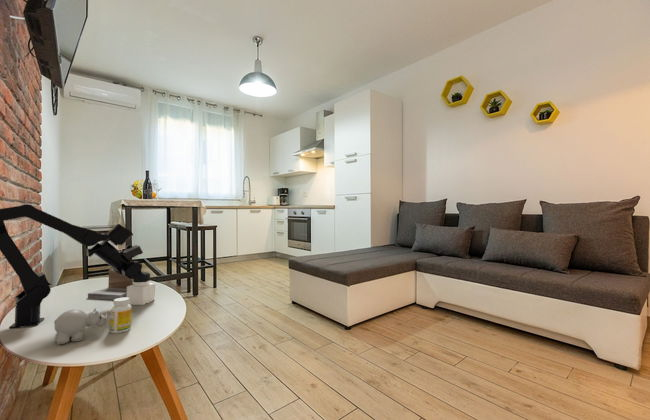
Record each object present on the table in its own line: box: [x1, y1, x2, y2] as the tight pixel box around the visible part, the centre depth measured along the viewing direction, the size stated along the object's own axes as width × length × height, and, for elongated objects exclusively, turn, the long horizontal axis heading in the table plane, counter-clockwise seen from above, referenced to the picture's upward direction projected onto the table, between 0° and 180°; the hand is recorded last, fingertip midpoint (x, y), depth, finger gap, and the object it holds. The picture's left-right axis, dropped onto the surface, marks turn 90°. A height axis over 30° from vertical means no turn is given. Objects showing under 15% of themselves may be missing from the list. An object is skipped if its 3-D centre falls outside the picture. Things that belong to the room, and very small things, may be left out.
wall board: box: [87, 268, 133, 301], centre depth 127 cm, size 12×15×10 cm
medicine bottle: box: [127, 271, 156, 306], centre depth 119 cm, size 7×7×12 cm
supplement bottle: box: [109, 297, 132, 334], centre depth 91 cm, size 5×5×10 cm
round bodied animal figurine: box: [53, 308, 109, 345], centre depth 85 cm, size 7×12×8 cm, turn 136°
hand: (142, 279), depth 119 cm, fingers open, 9 cm apart
